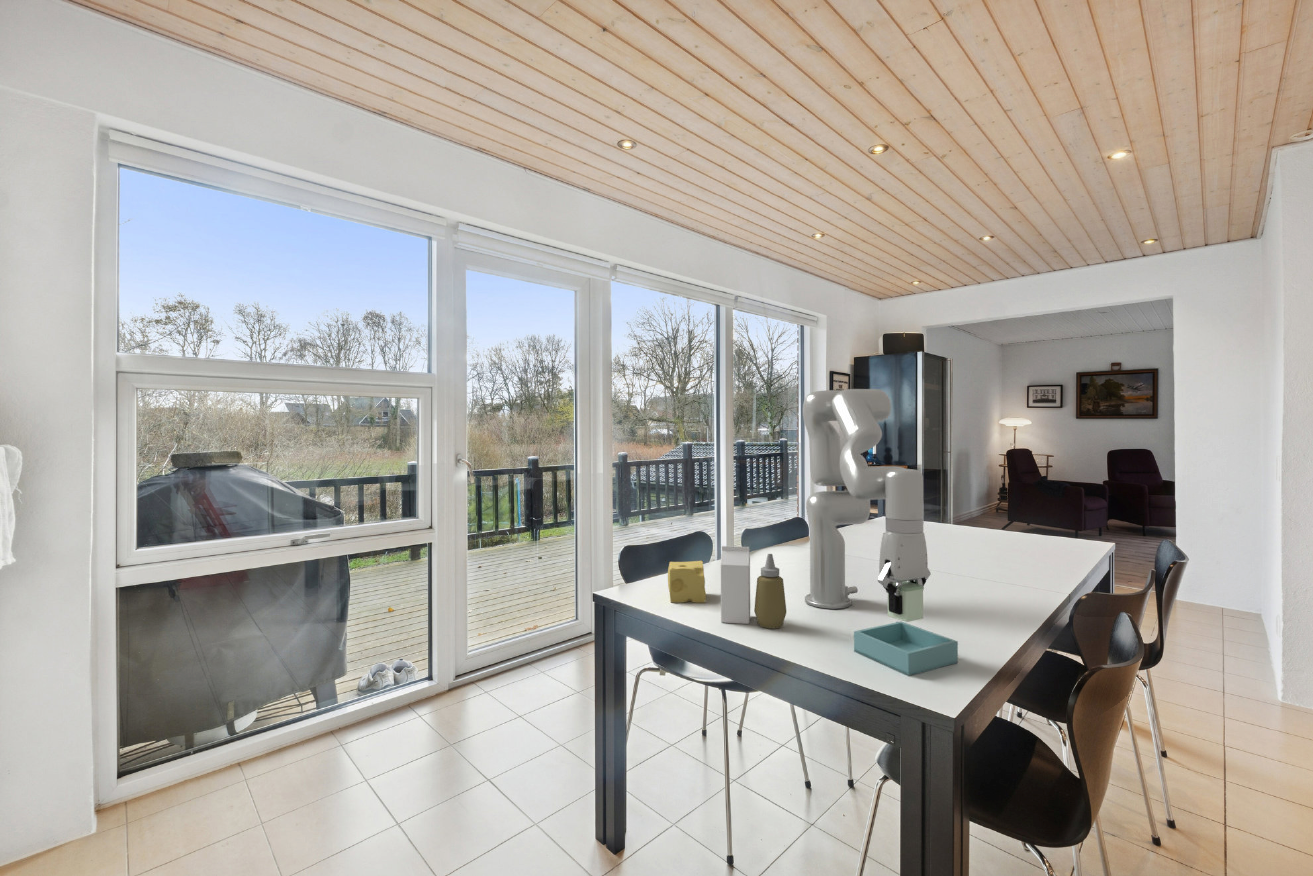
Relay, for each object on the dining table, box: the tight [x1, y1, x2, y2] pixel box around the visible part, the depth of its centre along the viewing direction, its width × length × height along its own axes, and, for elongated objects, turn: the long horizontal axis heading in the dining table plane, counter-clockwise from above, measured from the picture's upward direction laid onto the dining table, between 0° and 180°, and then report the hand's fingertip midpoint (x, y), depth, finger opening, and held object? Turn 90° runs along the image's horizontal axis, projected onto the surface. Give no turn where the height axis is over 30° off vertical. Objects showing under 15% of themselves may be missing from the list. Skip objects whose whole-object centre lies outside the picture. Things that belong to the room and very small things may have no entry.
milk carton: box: [720, 545, 751, 625], centre depth 153 cm, size 7×7×19 cm
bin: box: [853, 620, 959, 677], centre depth 127 cm, size 15×15×4 cm
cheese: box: [667, 560, 707, 604], centre depth 173 cm, size 10×11×10 cm
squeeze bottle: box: [753, 553, 787, 629], centre depth 148 cm, size 8×8×18 cm
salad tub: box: [887, 581, 925, 623], centre depth 127 cm, size 5×5×7 cm
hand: (905, 610), depth 127 cm, fingers closed on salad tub, 5 cm apart
